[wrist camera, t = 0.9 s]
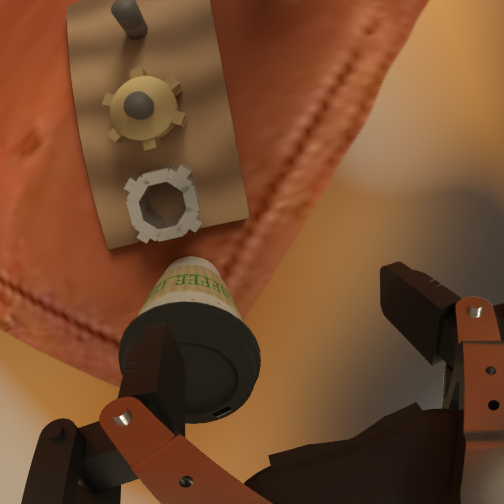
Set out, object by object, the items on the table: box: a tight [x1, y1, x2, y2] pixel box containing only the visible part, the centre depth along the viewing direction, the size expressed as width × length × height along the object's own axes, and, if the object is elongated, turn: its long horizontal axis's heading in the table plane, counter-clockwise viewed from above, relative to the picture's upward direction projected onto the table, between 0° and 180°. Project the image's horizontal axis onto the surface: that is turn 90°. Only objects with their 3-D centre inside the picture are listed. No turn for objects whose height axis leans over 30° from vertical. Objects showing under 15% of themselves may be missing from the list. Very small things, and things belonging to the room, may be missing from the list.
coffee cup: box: [119, 256, 261, 424], centre depth 26 cm, size 10×10×15 cm
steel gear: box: [124, 163, 202, 244], centre depth 26 cm, size 6×6×4 cm
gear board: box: [67, 0, 250, 250], centre depth 22 cm, size 26×14×8 cm, turn 10°
